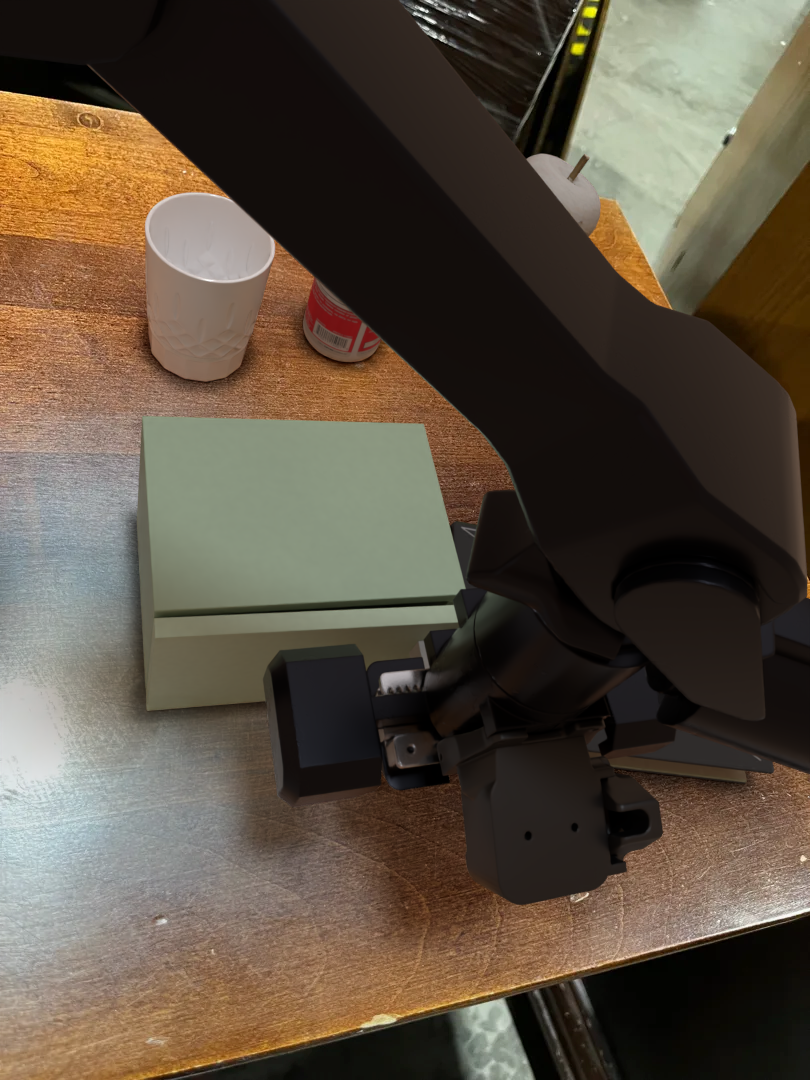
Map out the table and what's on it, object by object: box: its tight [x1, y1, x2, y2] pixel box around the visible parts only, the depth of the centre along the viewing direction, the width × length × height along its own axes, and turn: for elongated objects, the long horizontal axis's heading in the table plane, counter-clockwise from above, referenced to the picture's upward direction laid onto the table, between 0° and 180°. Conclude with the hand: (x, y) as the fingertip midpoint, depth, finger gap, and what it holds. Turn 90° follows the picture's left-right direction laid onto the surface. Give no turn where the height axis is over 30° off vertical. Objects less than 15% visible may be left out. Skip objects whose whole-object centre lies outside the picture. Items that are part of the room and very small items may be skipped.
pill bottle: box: [302, 276, 382, 363], centre depth 58 cm, size 6×6×11 cm
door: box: [145, 605, 459, 712], centre depth 42 cm, size 6×16×10 cm, turn 101°
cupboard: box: [136, 415, 466, 690], centre depth 46 cm, size 11×16×11 cm
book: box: [449, 520, 775, 785], centre depth 54 cm, size 22×15×3 cm
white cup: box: [144, 191, 276, 383], centre depth 54 cm, size 8×8×10 cm
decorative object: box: [526, 153, 602, 238], centre depth 71 cm, size 9×9×10 cm
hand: (425, 754), depth 43 cm, fingers closed
